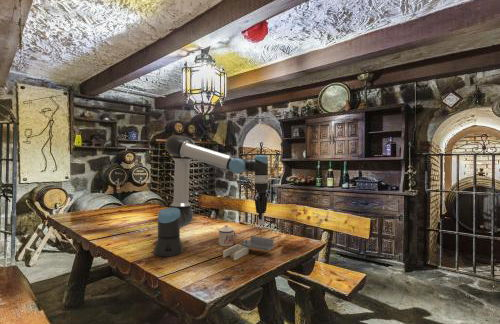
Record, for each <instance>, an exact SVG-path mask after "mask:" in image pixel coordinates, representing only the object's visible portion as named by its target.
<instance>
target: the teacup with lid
mask: <svg viewBox="0 0 500 324" xmlns="http://www.w3.org/2000/svg"><path fill="white" fill-rule="evenodd" d="M236 233H237V232H236V231H234V228H232V227H230V226H228V224H224V226H223V227H221V228H219V229H218V245H219V246H221V247H232V246H234V239H235V237H236Z"/></svg>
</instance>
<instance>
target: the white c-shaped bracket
mask: <svg viewBox="0 0 500 324" xmlns="http://www.w3.org/2000/svg"><path fill="white" fill-rule="evenodd" d="M239 249H242V250H240V251H238V252H236V253H234V259H233V261H237V260H239V259H240V258H242V257H244V256H246V255H248V254H249V253H250V252H249V251H250V247H246V246H242V243H241V244H235V245H232V246H230V247H229V248H227V249H224V250H223V251H222V258H223V259H224V258H227V257H229V255H230V254H231V253H233V252H235V251H237V250H239Z"/></svg>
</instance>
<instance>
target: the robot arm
mask: <svg viewBox="0 0 500 324" xmlns="http://www.w3.org/2000/svg"><path fill="white" fill-rule="evenodd" d="M165 149H166V152H167V153H169V154H170V155H171V156H172V157H171V158H172V160H173V161H174V180H173V183H174V184H173V202H171V204H170V207H167V208H163V209H160V210H159V211H158V214H157V238H156V239H157V240H156V243H155V245H154V248H153V254H154V255H155V256H156V257H157V256H158V257H174V256H178V255H180V254H182V253H183V251H184V249H183V247H184V246H183V245H182V241H181V238H180V236H181V232H180V231H181V229H182V228H183V227H186V226H188V225H189V224H190V223H191V222H192V220H193V219H194V212H193V210H192V207H191V206H192V205H191V203H190V202H189V195H190V193H189V192H190V191H189V189H190V165H191V161H192V160H196V161H198V162H201V163H205V164H208V165H212V166H215V167H218V168H221V169H223V170H227V171H229V172H232V173H233V174H242V173H254V190H255V191H256V193H255V194H256V195H254V196H253V200H254V205H255V213H256V214H257V215H258V226H264V225H265V214H266V212H267V207H268V206H267V205H268V198H269V194H268V193H267V190H269V183H268V182H269V159H268V155H266V154H263V155H262V154H258V155H257V154H256V155H254V158H239V157H236V156H232V155H230V154H229V155H228V154H226V153H222V152H219V151H216V150H212V149H209V148H206V147H203V146H199V145H196V144H195V142H194V140H193V139H192V138H190V137H188V136H184V135H183V136H182V135H179V134H177V135H176V134H175V135H174V134H173V135H171V136H169V137H168V138H167V139H166V141H165Z"/></svg>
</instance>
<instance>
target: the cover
mask: <svg viewBox="0 0 500 324" xmlns="http://www.w3.org/2000/svg"><path fill="white" fill-rule="evenodd" d="M274 242H275V240H274V239H273V238H269V237H265V236H264V237H262V236H257V235H252V234H251V235H250V239H249V240H248V239H242V242H241V244H242V246H246V247H249V248H252V249H255V250H256V249H257V250H261V251H266V252H267V251H268V252H269V251H270V250H271V249H273V248H275V244H274Z"/></svg>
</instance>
